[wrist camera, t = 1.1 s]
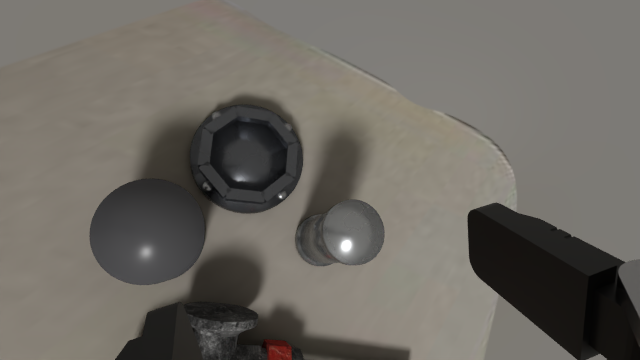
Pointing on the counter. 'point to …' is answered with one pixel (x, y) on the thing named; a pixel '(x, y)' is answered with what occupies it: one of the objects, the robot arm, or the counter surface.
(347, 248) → the fitting
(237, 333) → the valve
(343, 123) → the counter surface
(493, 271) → the robot arm
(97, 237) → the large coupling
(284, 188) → the flange
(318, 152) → the counter surface
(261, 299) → the counter surface
